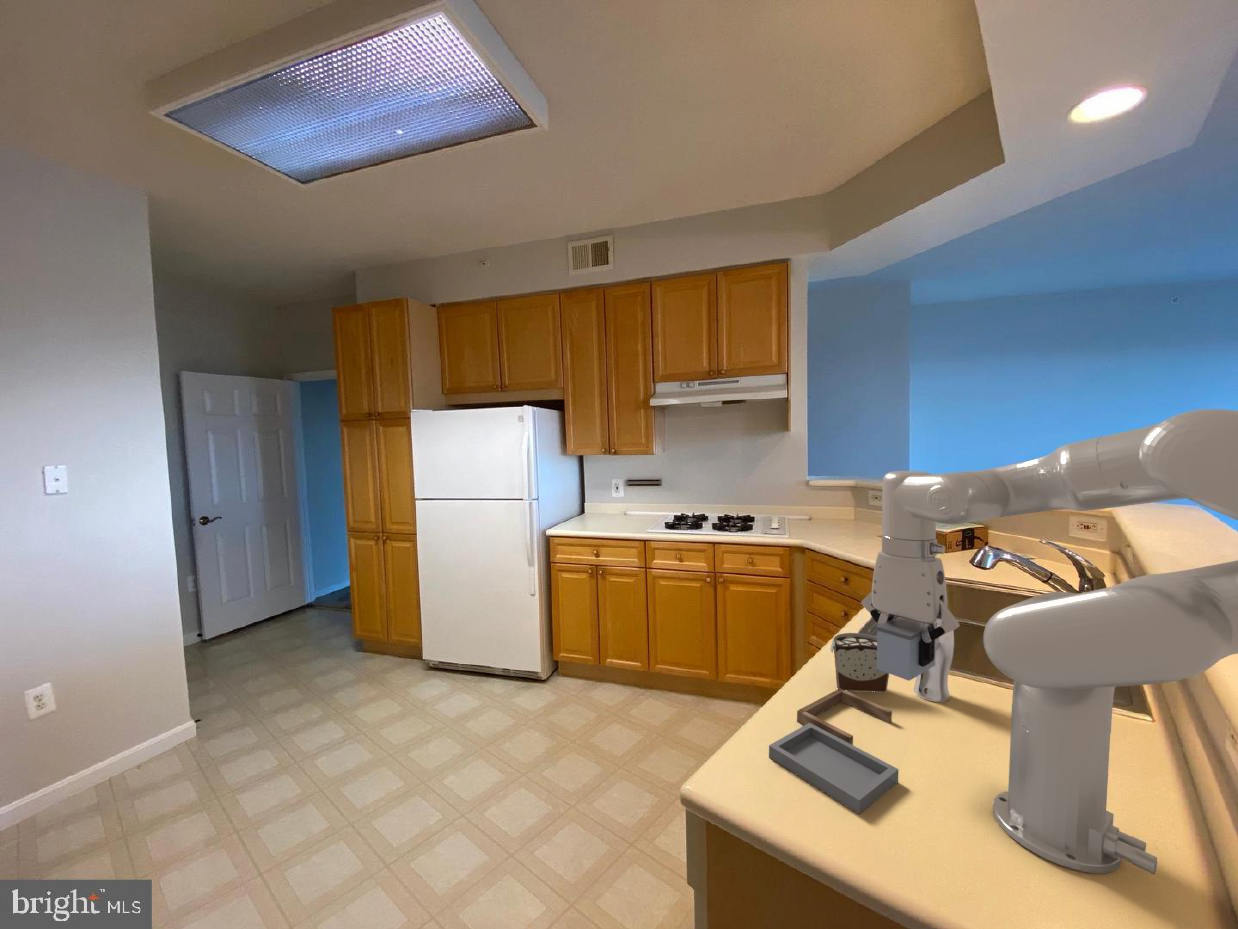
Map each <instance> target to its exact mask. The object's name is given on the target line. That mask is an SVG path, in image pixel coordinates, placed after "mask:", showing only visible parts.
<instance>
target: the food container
mask: <svg viewBox="0 0 1238 929" xmlns="http://www.w3.org/2000/svg"><path fill="white" fill-rule="evenodd" d="M830 652H831V653H833V654H834V656H833V657H834V667H835V669H834V670H835V679H836V688H838V689H839V688H841V689H843V690H847V691H848V692H855V691H868V692H867V693H877V692H887V691H888V685H889V677H890V674H889V673H886V672H884V671H881V670H878V669H877V636H875V635H871V634H866V633H859V632H844V633H840V634H836V635H835V636H834V637H833V639H832V641H831V645H830ZM838 689H837V690H838ZM869 691H870V692H869ZM872 691H873V692H872ZM874 691H875V692H874Z"/></svg>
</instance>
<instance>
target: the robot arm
mask: <svg viewBox="0 0 1238 929" xmlns="http://www.w3.org/2000/svg"><path fill="white" fill-rule="evenodd" d="M881 496H882V497H881V499H882V500H881V502H882V506H881V511H882V513H881V550H880V551H879V552H877V556H876V560H875V564H874V568H873V575H872V584H871V591H870V592H869V593H868V594H867V595H866V596H865V597H864V598H863V599H862V600H861V606H862V607H864V609H865V610H866V611H867V612H869V614H870V616H871V617H872V619H873V620H874V621H875V623H876V626H879V625H881V624H883V623H886V622H888V621H890V620H893V619H895V617H901V618H905V619H909V620H913V621H916V622H918V625H919V628H920V632H921V635H922V640H921V641H919V665H920V666H922V667H924V666H926V665H928V664H929V663H931V662H932V661H933V660H934V652H935V639H937V638H939V637H940V636H942V635H944V634H946V633H948V632H950V631H953V630H954V631H955V630H957V629H959V628H960V623H959V622H958V619H956V618H955V616H954V615H953V613H952V612H951V611H950V609H949V608H948V592H947V581H946V576H945V569H944V564H943V560H942V559H941V558H940V557H936V556H938V555H939V554H940V555H944V554H945V553H946V546H945V545H942V544H940V543H938V538H937V537H936V536H937V535H936V534H937V532H936V531H937V523H938V524H940V523H941V524H945V525H962V524H968V523H972V522H979V521H985V520H993V519H998V518H1007V517H1011V516H1018V515H1019V516H1021V515H1027V514H1033V513H1041V512H1048V511H1049V512H1051V511H1061V510H1072V511H1078V512H1087V511H1096V510H1098V511H1099V510H1105V509H1106V510H1107V509H1114V508H1121V507H1128V506H1137V505H1143V504H1151V503H1159V502H1167V501H1168V502H1170V501H1175V500H1176V501H1177V500H1184V499H1187V500H1189V501H1191V502H1194V503H1196V504H1199V505H1200V506H1203V507H1205V508H1207V509H1210V510H1212V511H1214V512H1216V513H1219V514H1221V515H1224V516H1226V517H1228V518H1231V519H1233V520H1236V521H1238V410H1235V409H1233V410H1232V409H1222V408H1221V409H1220V408H1219V409H1217V408H1204V409H1195V410H1191V411H1190V410H1189V411H1186V412H1182V413H1179V414H1176V415H1172V416H1170V417H1168V418H1166V419H1165V420H1162V421H1161V422H1159V423H1156V424H1152V425H1149V426H1145V427H1140V428H1136V429H1131V430H1127V431H1123V432H1117V433H1113V434H1109V435H1104V436H1103V435H1101V436H1098V437H1092V438H1090V439H1089V438H1087V439H1084V440H1080V441H1073V442H1070V443H1067V444H1064V445H1061V446H1059V447H1058V448H1056V449H1055V450H1054V451H1053V452H1051V453H1049V454H1047V455H1044V456H1041V457H1038V458H1034V459H1030V460H1027V461H1022V462H1016V463H1013V464H1006V465H1003V466H1002V465H1001V466H998V467H992V468H987V469H986V468H985V469H981V470H969V471H958V472H947V473H937V474H935V473H934V474H932V473H931V472H928V471H919V470H918V471H917V470H897V471H896V470H894V471H889V472H887V473H886V474H885V475H884V476H883V478H882V495H881ZM936 538H937V539H936ZM936 619H942V620H943V621H944V624H943V625H941V626H939V627H937V628H936V625H935V622H936ZM982 636H983V639H982V640H983V641H982V642H983V647H984V650H985V653H986V655H987V657H988V659H989V660H990V662H991V663H992V664H993V666H995V668H996V669H998V670H999V671H1000V673H1002V674H1003V675H1005V676H1006V677H1008V678H1009V679H1011V680H1012V681H1013V686H1012V701H1011V718H1010V739H1009V740H1010V742H1009V763H1008V764H1009V765H1008V767H1009V769H1008V789H1007V791H1003V792H1000V793H999V794H997V795H996V796H995V798H994V799H993V807H992V808H993V811H992V813H993V815H994V818H995V820H996V822H997V823H998V824H999V826H1000V827H1001V828H1002V829H1003V830H1004V831H1005V833H1006V834H1008V836H1010V837H1011V838H1012V839H1013V840H1014V841H1016V842H1017V843H1018V844H1020V845H1021V846H1023V847H1024V848H1026V849H1027V850H1029V851H1030V852H1032V853H1034V854H1035V855H1037V856H1039V857H1041V858H1043V859H1045V860H1047V861H1050V862H1052V863H1054V864H1057V865H1060V866H1062V867H1065V868H1069V869H1072V870H1075V871H1080V872H1085V873H1094V874H1105V873H1110V872H1113V871H1116V870H1118V868H1119V867H1121V864H1122V862H1123V861H1122V860H1124V861H1126V862H1128V863H1130V864H1131V865H1133V866H1135V867H1137V868H1139V869H1141V870H1142V871H1145V872H1147V873H1149V874H1151V875H1156V871H1157V866H1158V858H1157V856H1155V855H1153V854H1151V853H1149V852H1146V850H1147V849H1146V848H1147V843H1146V842H1145V841H1144V840H1141V839H1139V838H1137V837H1135V836H1133V835H1129V834H1127V833H1124V832H1123V831H1120V828H1119V827H1117V826H1115V825H1114V817H1115V816H1114V812H1113V813H1112V812H1110V811H1108V810H1107V805H1108V803H1107V801H1108V800H1107V799H1108V782H1109V764H1110V763H1109V762H1110V750H1111V749H1110V746H1111V733H1112V719H1113V705H1114V697H1115V689H1116V688H1117V687H1131V686H1146V685H1156V684H1166V683H1171V682H1173V683H1174V682H1177V681H1180V680H1181V681H1182V680H1185V679H1189V678H1192V677H1194V676H1195V677H1196V676H1198V675H1200V674H1203V673H1204V672H1206V671H1208V670H1209V669H1210V668H1212V667H1213V666H1215V665H1216V664H1217V663H1219V661H1221V660H1223V659H1224V658H1227V657H1229V656H1232V655H1237V654H1238V559H1237V560H1234V561H1233V560H1232V561H1228V562H1222V563H1218V564H1211V565H1207V566H1206V565H1205V566H1201V567H1200V566H1199V567H1197V568H1190V569H1185V570H1179V571H1178V570H1176V571H1172V572H1164V573H1163V572H1162V573H1154V574H1153V573H1152V574H1151V573H1150V574H1145V575H1141V576H1137V577H1133V578H1131V579H1128V580H1125V581H1123V582H1120V583H1118V584H1115V585H1112V586H1108V587H1104V588H1101V589H1095V590H1090V591H1086V592H1081V593H1074V592H1069V591H1068V592H1067V591H1052V592H1046V593H1042V594H1038V595H1035V596H1032V597H1030V598H1026V599H1025V600H1021V601H1020V602H1017V603H1014V604H1011V605H1008V606H1006V607H1004V608H1002V609H999V611H997V612H996V613H995V614H993V615H992V616H991V617H990V618H989V619H988V621H987V623H986V625H985V627H984V631H983V635H982Z"/></svg>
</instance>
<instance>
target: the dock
mask: <svg viewBox="0 0 1238 929" xmlns="http://www.w3.org/2000/svg"><path fill="white" fill-rule="evenodd" d="M838 703H839V704H841V703H843V704H846V705H848V706H850V705H851V707H852V708H855V709H858V710H859V711H861V712H863V711H864V712H863V713H865V714H868V715H870V716H872V717H874V718H876V719H879V720H881V721H883V722H885V723H888V724H890V723H892V719H893V718H892V717H893V716H892V715H893V711H892V710H891V709H889V708H886V707H885V706H882V705H880V704H877V703H875V702H874V701H871V700H869V699H866V698H864V697H861V696H859V695H857V694H854V693H852V692H851V691H846V690H843V689H841V688H839V689H836V690H834V691H832V692H830V693H828V694H826V695H825V696H822V697H821V698H819V699H817V700H815V701H813V702H811V703H809V704H807V705H806V706H804V707H802V708H800V709H798V710H796V722H797V723H799V724H801V725H802V726H804V725H806V724H808V723H811V724H813V725H815V726H817V727H819V728H821V729H823V730H825V731H827V732H828V733H830V734H832V735H834V736H836V737H838V738H840V739H842V740H844V741H846V742H848V743H849V744H851V745H853V746H854V735H852V734H851V733H848V732H846V731H845V730H843V729H841V728H838V727H837V726H835V725H833V724H831V723H829V722H827V721H825V720H823V719H821V718H819V717H817V716H819V715H821V714H822V713H824V712H826V711H828V710H830V709H831V708H833V707H835V706H837V705H839V704H838ZM834 705H835V706H834ZM832 706H833V707H832ZM829 708H830V709H829ZM823 711H824V712H823ZM821 712H822V713H821ZM820 713H821V714H820ZM818 714H819V715H818Z"/></svg>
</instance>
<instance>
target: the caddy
mask: <svg viewBox="0 0 1238 929" xmlns="http://www.w3.org/2000/svg"><path fill="white" fill-rule="evenodd" d="M935 625H936V627H937V623H935ZM875 630H876V631H877V632H876V633H877V634H876V637H877V669H878V670H881V671H884V672H886V673H889V675H893V676H894V677H898V678H900V679H903V680H906V681H909V682H910V681H911V680H913V679H916V676H918V675H920V674H921V673H923V672H925V671H926V670H928V669H930V668H931V667H933V666H935V655H936V639H935V652H934V660H933V661H932V662H931V663H929V664H928V665H926V666H924V667H922V666H920V665H919V641H921V640H922V635H921V632H920V628H919V625H918V622H916V621H913V620H909V619H905V618H901V617H898V616H896V618H894V619H893V620H890V621H888V622H886V623H883V624H881V625H879V626H877V625H876V628H875Z"/></svg>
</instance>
